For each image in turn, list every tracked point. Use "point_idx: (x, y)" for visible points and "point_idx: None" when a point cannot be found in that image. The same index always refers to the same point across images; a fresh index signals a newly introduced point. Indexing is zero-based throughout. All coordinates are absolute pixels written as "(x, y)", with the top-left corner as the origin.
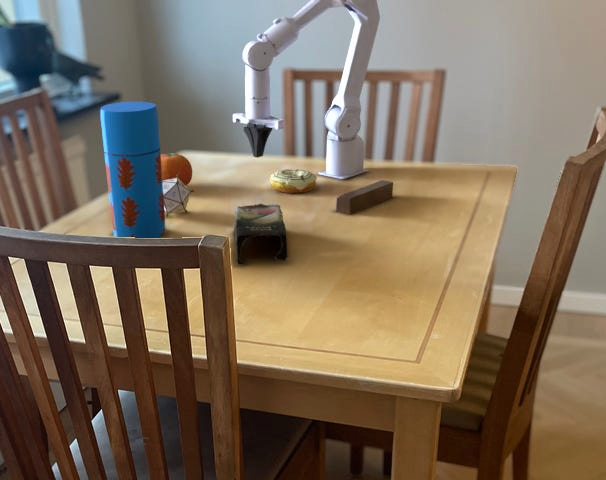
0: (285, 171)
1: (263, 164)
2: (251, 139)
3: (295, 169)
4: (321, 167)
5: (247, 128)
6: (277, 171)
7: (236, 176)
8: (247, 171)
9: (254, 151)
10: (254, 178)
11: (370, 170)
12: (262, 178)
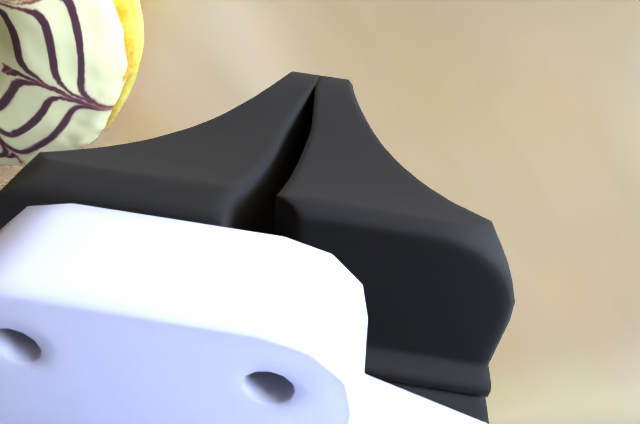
0: (7, 34)
1: (525, 344)
2: (321, 149)
3: (11, 128)
4: None
5: (349, 229)
6: (64, 6)
7: (583, 60)
8: (555, 202)
9: (315, 92)
10: (413, 78)
11: None
12: (359, 104)
